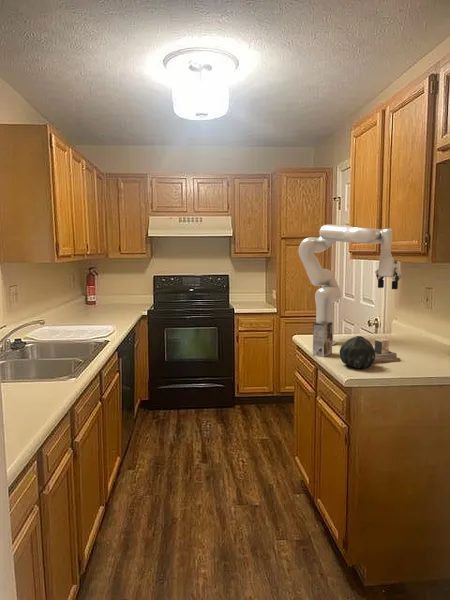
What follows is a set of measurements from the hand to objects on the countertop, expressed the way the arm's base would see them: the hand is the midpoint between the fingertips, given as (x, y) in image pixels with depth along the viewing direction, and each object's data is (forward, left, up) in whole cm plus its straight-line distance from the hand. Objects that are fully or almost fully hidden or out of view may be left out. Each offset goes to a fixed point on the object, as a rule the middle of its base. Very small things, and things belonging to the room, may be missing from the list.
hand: (387, 288), depth 212 cm
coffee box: (-8, -32, -32) cm, 46 cm away
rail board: (+10, -14, -32) cm, 37 cm away
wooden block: (+10, -11, -31) cm, 34 cm away
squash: (+17, -30, -33) cm, 48 cm away
